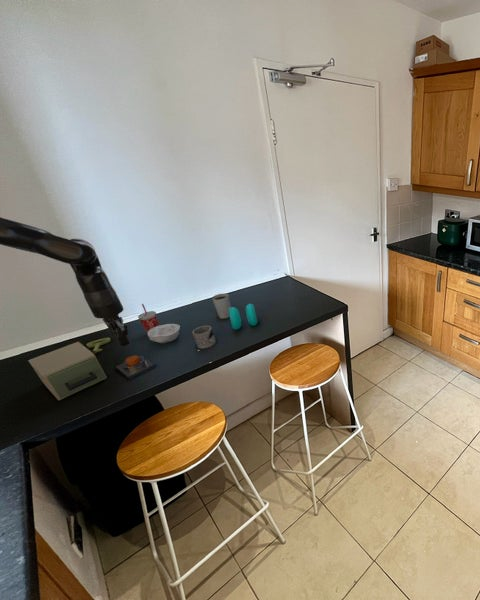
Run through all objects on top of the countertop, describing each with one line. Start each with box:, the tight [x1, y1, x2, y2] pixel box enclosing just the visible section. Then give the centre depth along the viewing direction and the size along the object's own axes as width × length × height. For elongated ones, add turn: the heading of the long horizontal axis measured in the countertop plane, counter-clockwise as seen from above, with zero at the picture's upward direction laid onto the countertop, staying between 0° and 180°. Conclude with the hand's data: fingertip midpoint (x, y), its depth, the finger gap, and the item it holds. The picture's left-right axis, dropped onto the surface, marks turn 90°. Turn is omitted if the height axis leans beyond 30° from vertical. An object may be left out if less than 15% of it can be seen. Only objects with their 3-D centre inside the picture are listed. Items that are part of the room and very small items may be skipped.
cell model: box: [147, 323, 181, 344], centre depth 128 cm, size 10×12×7 cm
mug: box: [191, 324, 217, 350], centre depth 127 cm, size 10×7×7 cm
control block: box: [115, 355, 156, 380], centre depth 113 cm, size 10×8×3 cm
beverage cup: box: [137, 303, 160, 334], centre depth 132 cm, size 6×6×14 cm
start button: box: [124, 355, 140, 366], centre depth 112 cm, size 4×4×2 cm
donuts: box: [229, 303, 259, 330], centre depth 137 cm, size 10×10×10 cm
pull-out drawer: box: [47, 358, 106, 400], centre depth 104 cm, size 18×11×8 cm, turn 58°
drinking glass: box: [211, 293, 232, 319], centre depth 146 cm, size 7×7×10 cm
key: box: [86, 337, 112, 354], centre depth 125 cm, size 7×12×2 cm, turn 53°
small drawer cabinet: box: [27, 341, 108, 401], centre depth 105 cm, size 15×13×10 cm
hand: (125, 344), depth 109 cm, fingers closed
